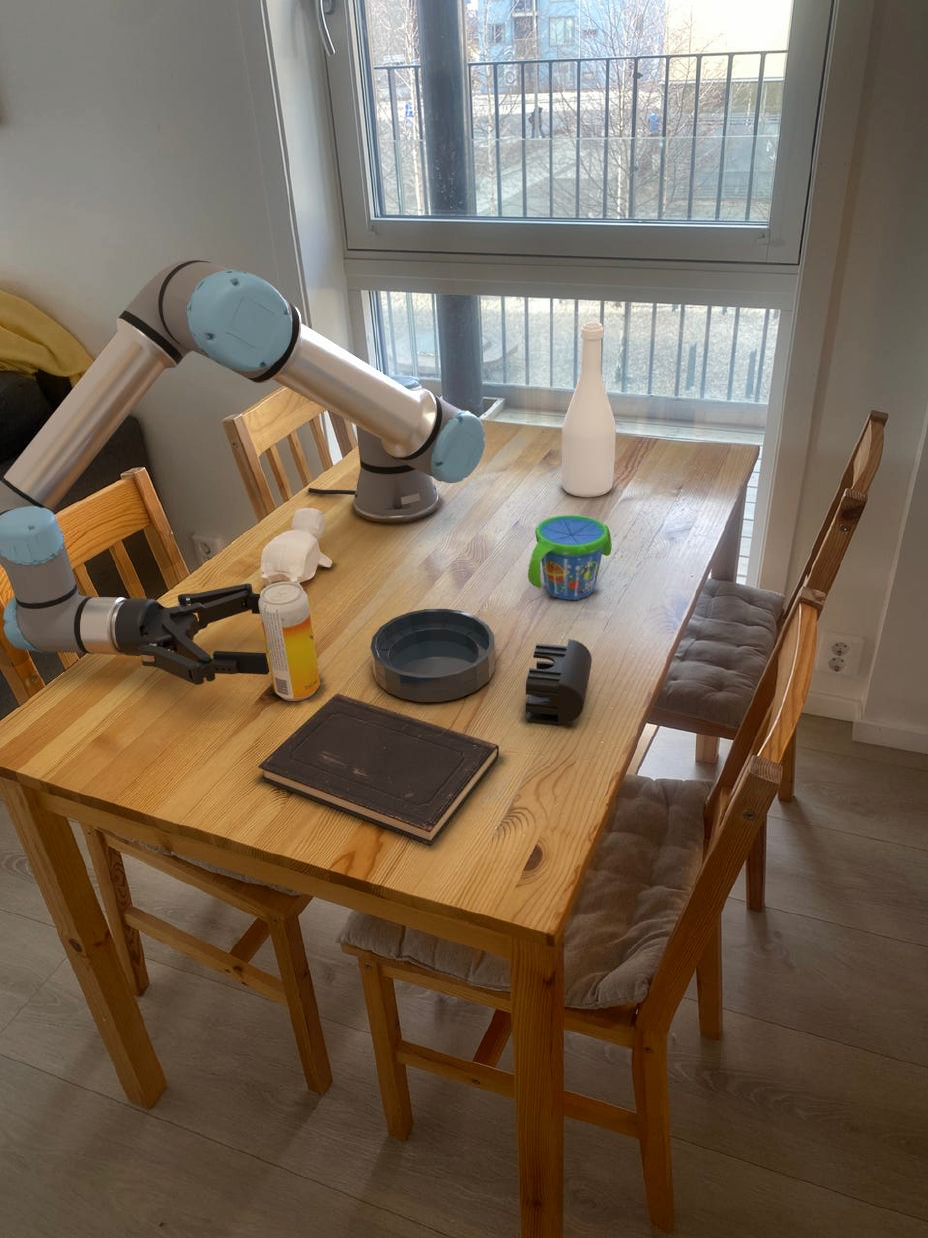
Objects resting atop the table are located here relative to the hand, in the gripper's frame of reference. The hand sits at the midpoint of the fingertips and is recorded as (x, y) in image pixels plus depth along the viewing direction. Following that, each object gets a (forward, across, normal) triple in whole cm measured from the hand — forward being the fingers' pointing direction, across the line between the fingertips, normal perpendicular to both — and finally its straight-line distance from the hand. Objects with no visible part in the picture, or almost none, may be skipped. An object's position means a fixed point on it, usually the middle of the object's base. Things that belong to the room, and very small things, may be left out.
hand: (283, 633), depth 120 cm
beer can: (+1, 0, -9) cm, 9 cm away
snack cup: (+35, -28, -9) cm, 46 cm away
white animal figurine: (-8, -31, -9) cm, 34 cm away
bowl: (+18, -6, -9) cm, 21 cm away
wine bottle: (+37, -66, -9) cm, 76 cm away
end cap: (+35, 0, -9) cm, 36 cm away
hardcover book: (+15, +14, -9) cm, 23 cm away
